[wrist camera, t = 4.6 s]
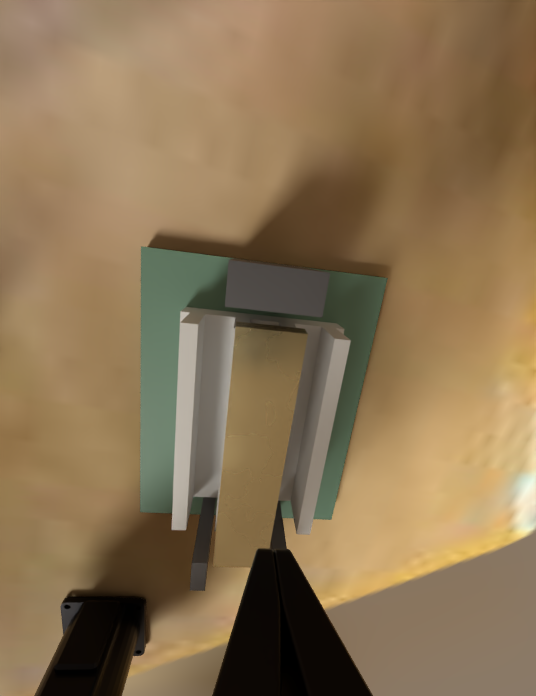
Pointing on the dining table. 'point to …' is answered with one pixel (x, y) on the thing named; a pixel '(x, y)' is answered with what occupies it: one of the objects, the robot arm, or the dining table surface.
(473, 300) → the dining table surface
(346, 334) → the heatsink board
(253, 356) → the wooden plank
